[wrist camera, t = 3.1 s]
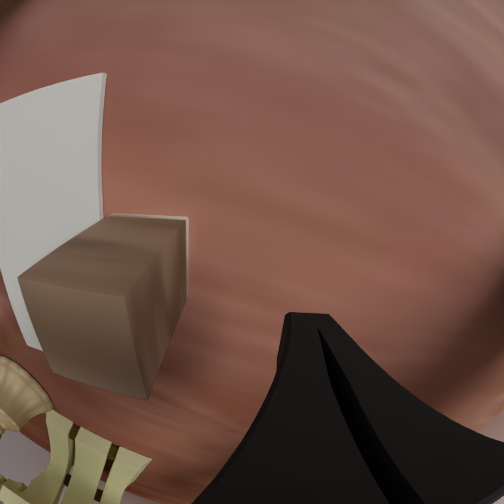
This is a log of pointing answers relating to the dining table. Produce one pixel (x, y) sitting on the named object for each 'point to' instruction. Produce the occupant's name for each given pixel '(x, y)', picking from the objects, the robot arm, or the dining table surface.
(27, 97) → the felt mat
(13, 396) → the hand bell
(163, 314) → the walnut block
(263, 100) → the dining table surface
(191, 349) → the dining table surface
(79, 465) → the slatted curved stool
